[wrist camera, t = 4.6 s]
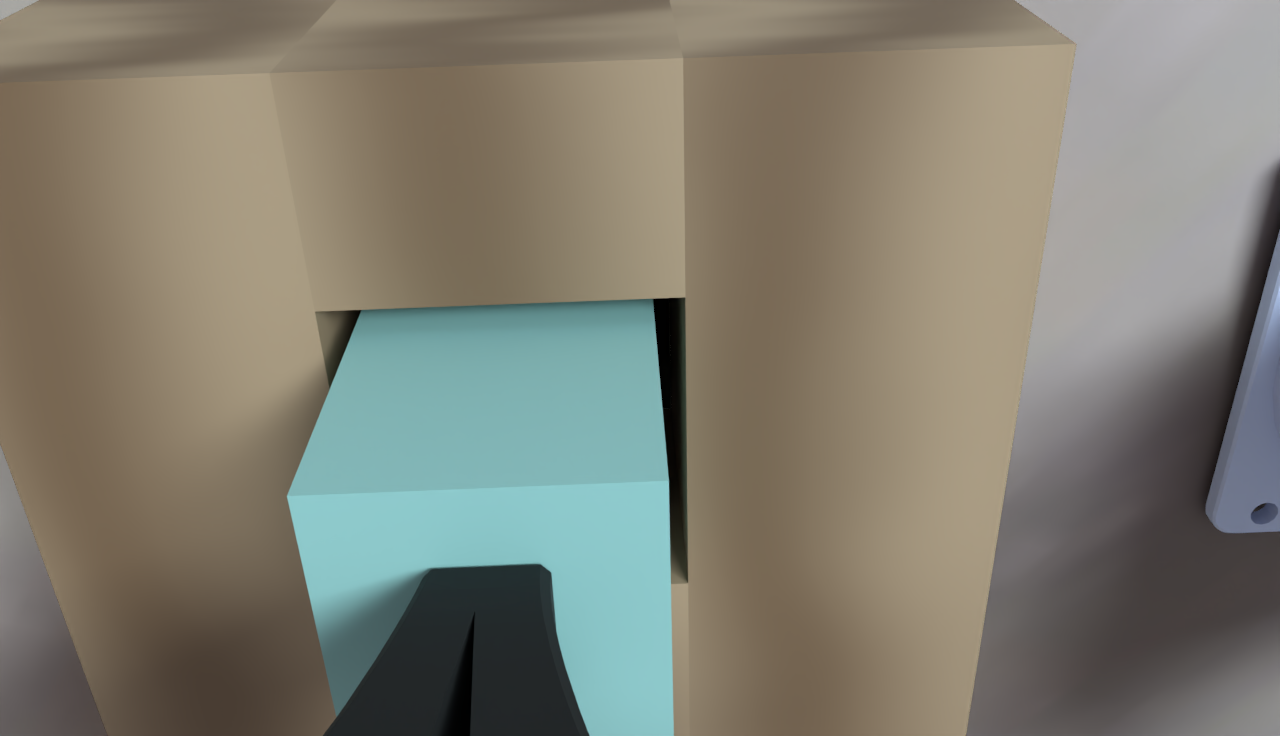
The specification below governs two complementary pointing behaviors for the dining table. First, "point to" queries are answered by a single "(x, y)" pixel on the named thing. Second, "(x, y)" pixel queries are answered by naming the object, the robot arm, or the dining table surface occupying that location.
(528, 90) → the socket block
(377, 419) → the peg square
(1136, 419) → the dining table surface
